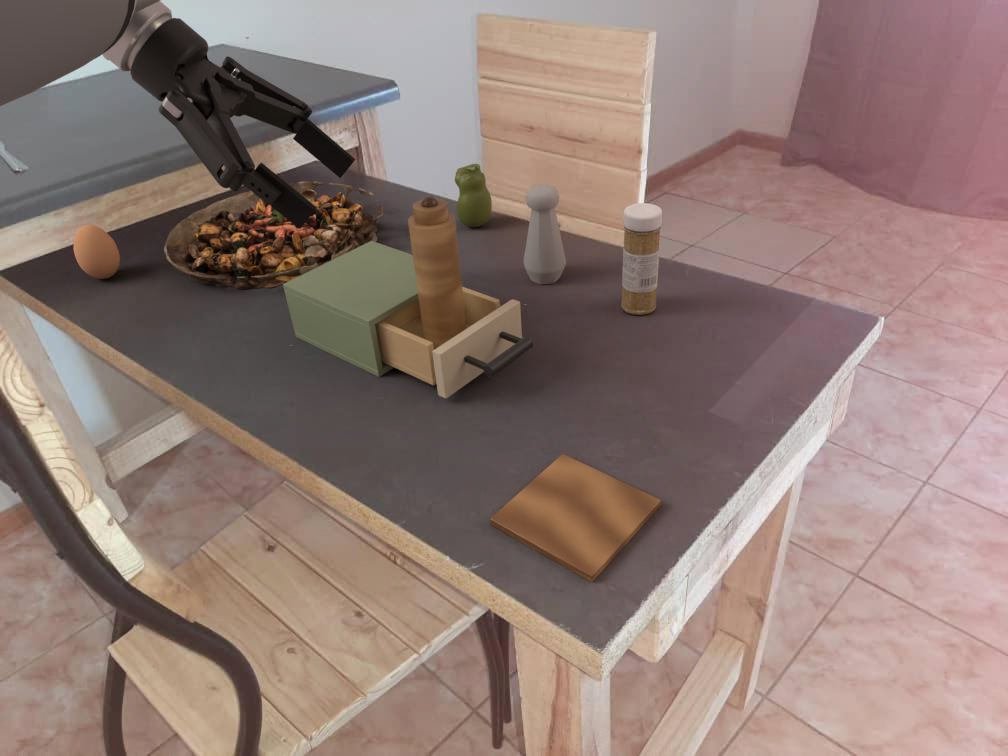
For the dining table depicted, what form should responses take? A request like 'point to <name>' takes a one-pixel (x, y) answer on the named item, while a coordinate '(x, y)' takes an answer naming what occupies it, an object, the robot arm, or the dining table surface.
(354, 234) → the food dish
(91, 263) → the egg
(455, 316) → the pepper mill
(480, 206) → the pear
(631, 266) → the spice jar
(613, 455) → the dining table surface
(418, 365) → the drawer
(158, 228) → the dining table surface
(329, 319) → the cabinet
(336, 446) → the dining table surface
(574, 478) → the square wooden board
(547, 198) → the salt shaker
